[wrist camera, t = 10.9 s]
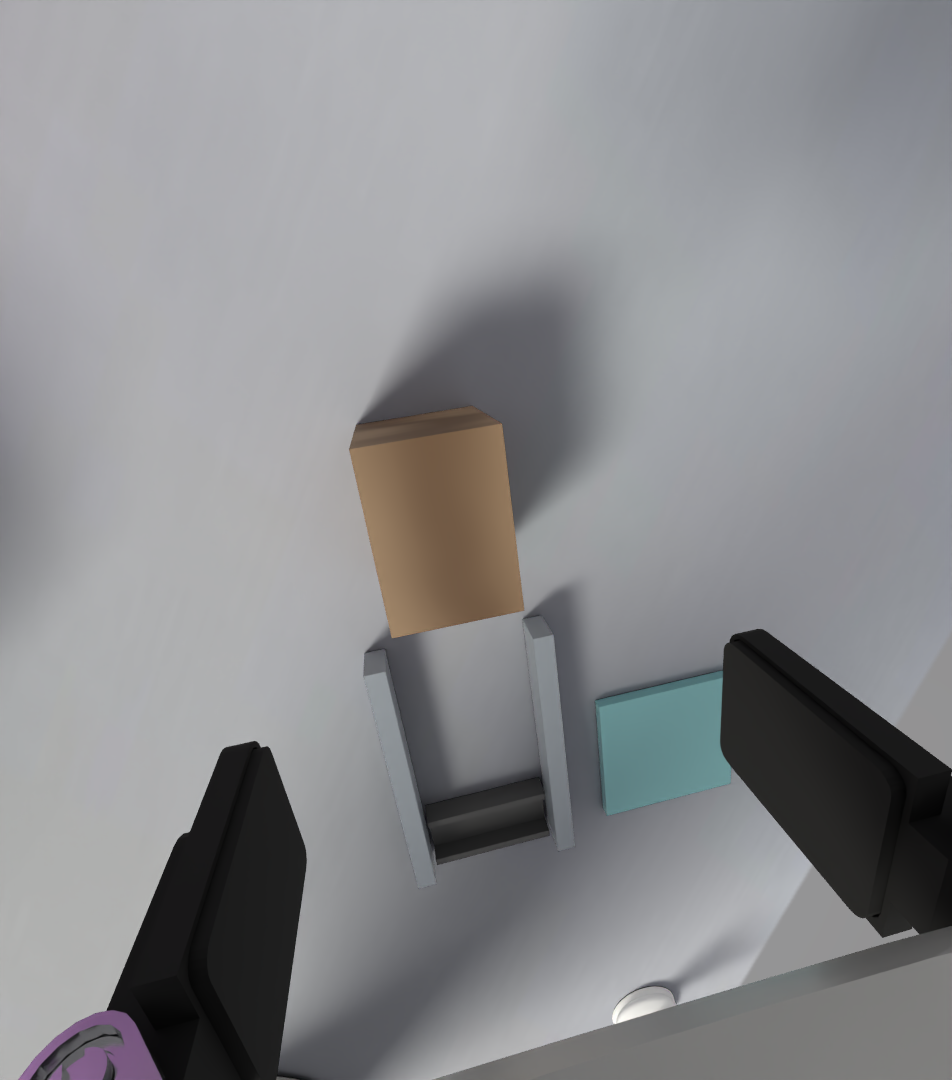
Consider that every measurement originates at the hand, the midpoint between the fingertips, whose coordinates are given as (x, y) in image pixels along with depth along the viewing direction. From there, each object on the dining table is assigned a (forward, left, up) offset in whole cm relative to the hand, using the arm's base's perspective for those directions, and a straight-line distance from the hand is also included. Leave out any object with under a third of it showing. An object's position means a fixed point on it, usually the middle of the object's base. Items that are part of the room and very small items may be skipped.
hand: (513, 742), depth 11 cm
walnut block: (0, +1, -15) cm, 15 cm away
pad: (+11, -16, -15) cm, 24 cm away
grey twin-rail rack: (0, -13, -15) cm, 20 cm away
